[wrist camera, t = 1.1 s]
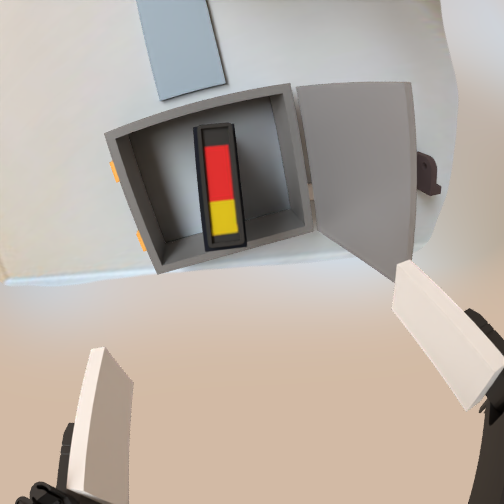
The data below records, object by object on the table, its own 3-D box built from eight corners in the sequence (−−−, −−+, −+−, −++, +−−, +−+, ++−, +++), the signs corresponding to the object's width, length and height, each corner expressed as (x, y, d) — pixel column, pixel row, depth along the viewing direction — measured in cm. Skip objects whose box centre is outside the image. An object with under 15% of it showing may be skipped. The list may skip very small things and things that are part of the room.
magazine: (206, 245, 39) (204, 252, 24) (196, 150, 38) (191, 105, 23) (234, 242, 40) (249, 247, 25) (223, 147, 39) (233, 101, 24)
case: (113, 129, 31) (62, 151, 17) (309, 81, 32) (377, 75, 19) (157, 252, 40) (144, 329, 27) (327, 205, 41) (386, 259, 28)
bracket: (360, 158, 39) (379, 167, 34) (422, 150, 40) (442, 158, 35) (362, 195, 42) (379, 207, 37) (421, 183, 43) (440, 193, 38)
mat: (136, -1, 23) (135, -2, 22) (200, -18, 23) (200, -19, 22) (160, 100, 30) (159, 100, 30) (225, 83, 31) (225, 83, 30)
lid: (404, 82, 14) (413, 82, 15) (295, 86, 26) (305, 85, 26) (402, 288, 23) (410, 283, 23) (317, 230, 35) (325, 227, 35)
